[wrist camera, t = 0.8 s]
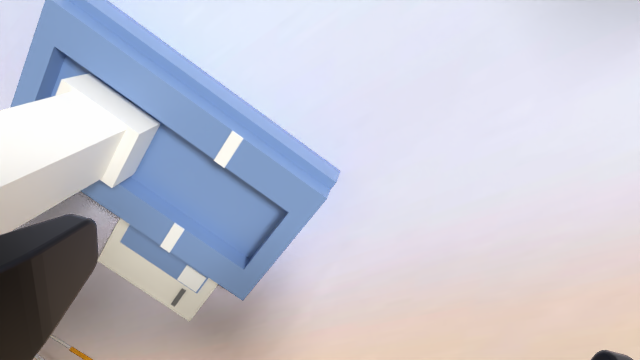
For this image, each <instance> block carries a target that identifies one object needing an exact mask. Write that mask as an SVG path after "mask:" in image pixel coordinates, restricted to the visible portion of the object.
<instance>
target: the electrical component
mask: <svg viewBox="0 0 640 360" xmlns="http://www.w3.org/2000/svg"><path fill="white" fill-rule="evenodd" d="M50 337H51V338H52V339H54V340H56V341H57V342H59V343H61V344H62V345H64V346H65V347H67V348H69V351H71V352H73V353H74V354H76V355H77V356H79V357H81V358H82V359H84V360H93V359H91V358H89V357H88V356H86V355H85V354H83V353H81V352H80V351H78V350H77V349H75V348H73V347H71V346H69V345H68V344H66V343H64V342H63V341H61V340H59V339H58V338H56V337H54V336H53V335H50ZM34 358H35V359H36V360H45V359H43V358H42V357H41V356H40V355H38V354H36V356H35V357H34Z"/></svg>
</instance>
